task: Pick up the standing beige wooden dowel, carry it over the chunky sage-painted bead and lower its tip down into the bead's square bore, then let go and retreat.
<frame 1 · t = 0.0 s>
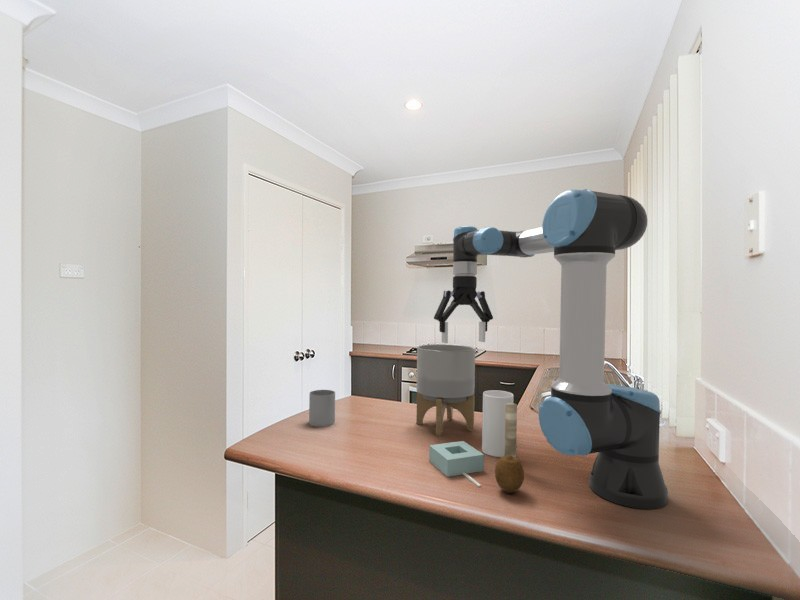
hand: (463, 342, 132), 28 cm above the countertop, fingers open, 13 cm apart
cup 2: (322, 423, 137), on the countertop
beige wooden dowel: (510, 468, 103), on the countertop
cup: (497, 451, 114), on the countertop
bead: (455, 465, 104), on the countertop
planter: (444, 427, 135), on the countertop
fruit: (508, 492, 91), on the countertop
cream stick: (471, 480, 96), on the countertop
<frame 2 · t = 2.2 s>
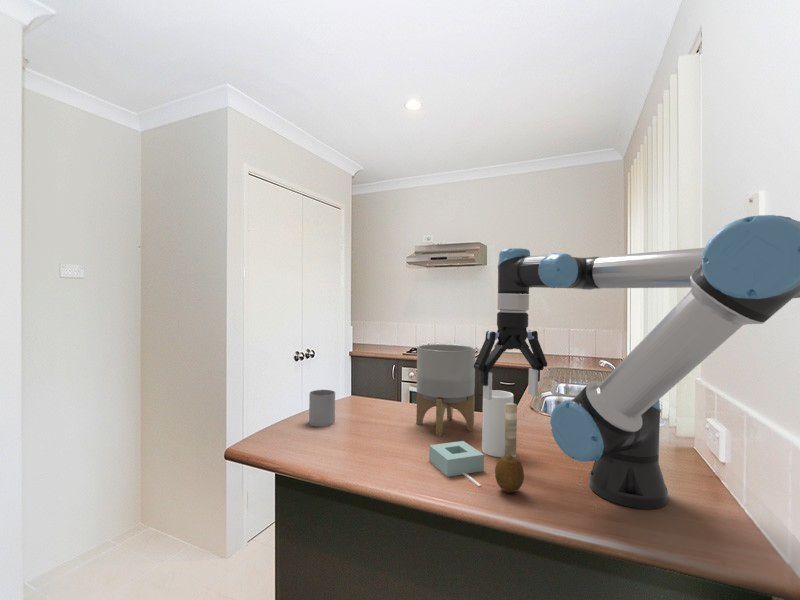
hand: (510, 396, 103), 18 cm above the countertop, fingers open, 13 cm apart
nothing on the countertop moved.
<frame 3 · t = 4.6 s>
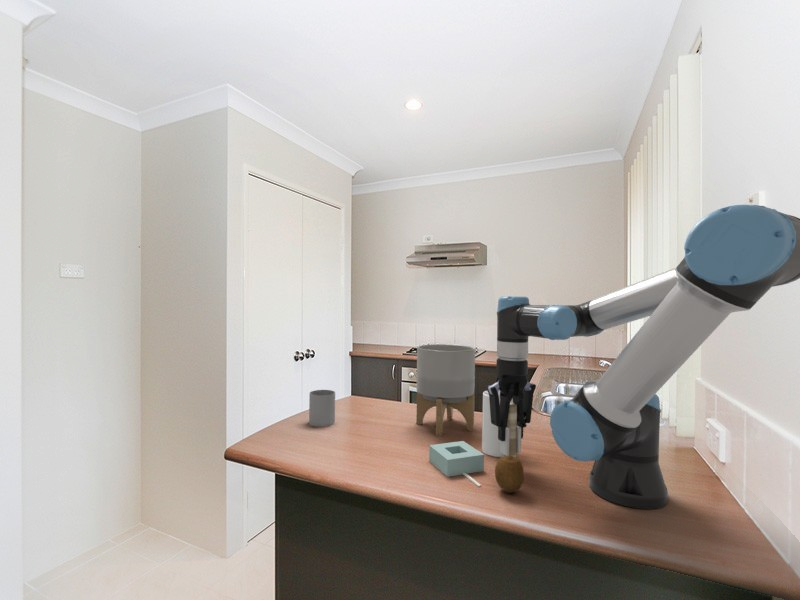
hand: (510, 452, 103), 4 cm above the countertop, fingers closed on beige wooden dowel, 3 cm apart
beige wooden dowel: (510, 468, 103), on the countertop, touching gripper
everything else where it was.
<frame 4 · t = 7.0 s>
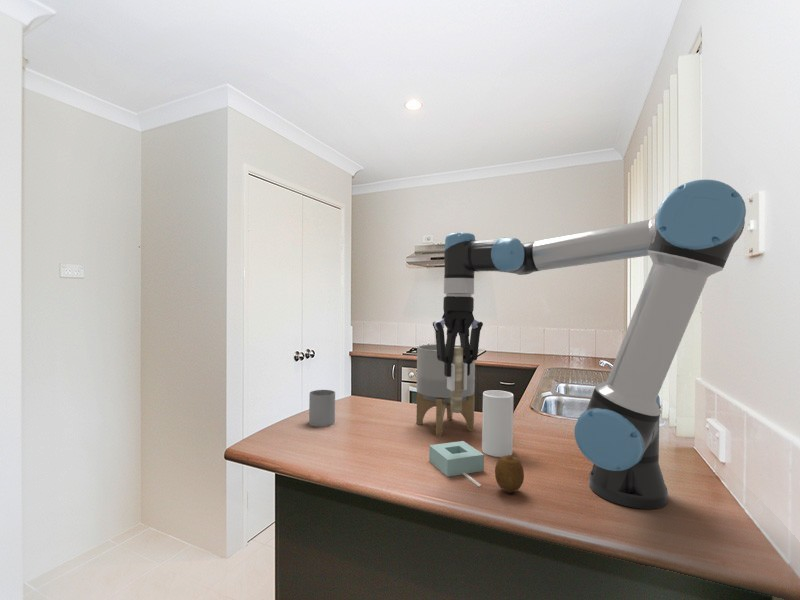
hand: (456, 388, 104), 19 cm above the countertop, fingers closed on beige wooden dowel, 3 cm apart
beige wooden dowel: (456, 411, 104), point 14 cm above the countertop, touching gripper
everything else where it was.
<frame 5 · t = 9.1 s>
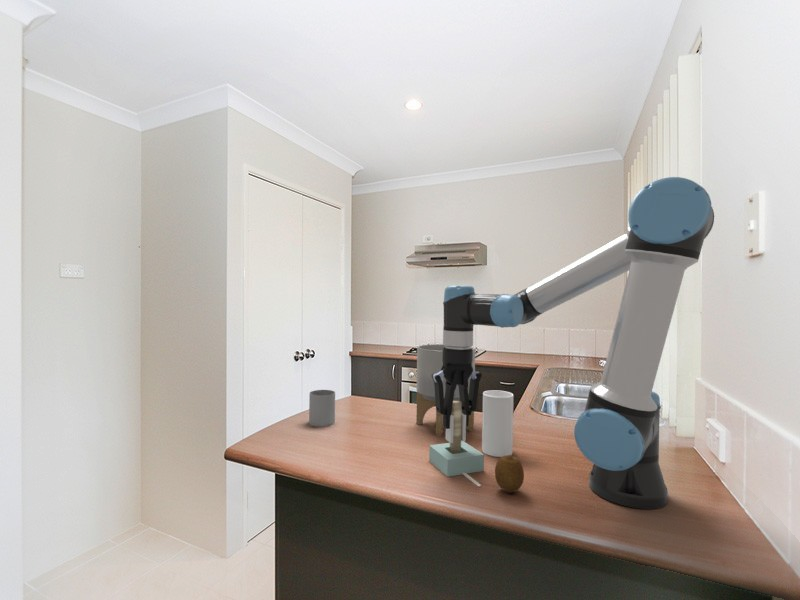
hand: (455, 439, 104), 6 cm above the countertop, fingers closed on beige wooden dowel, 3 cm apart
beige wooden dowel: (455, 465, 104), resting in bead, touching gripper
everything else where it was.
when the fingers open (6 cm above the countertop, at t = 9.9 s): beige wooden dowel stays where it is, resting in bead.
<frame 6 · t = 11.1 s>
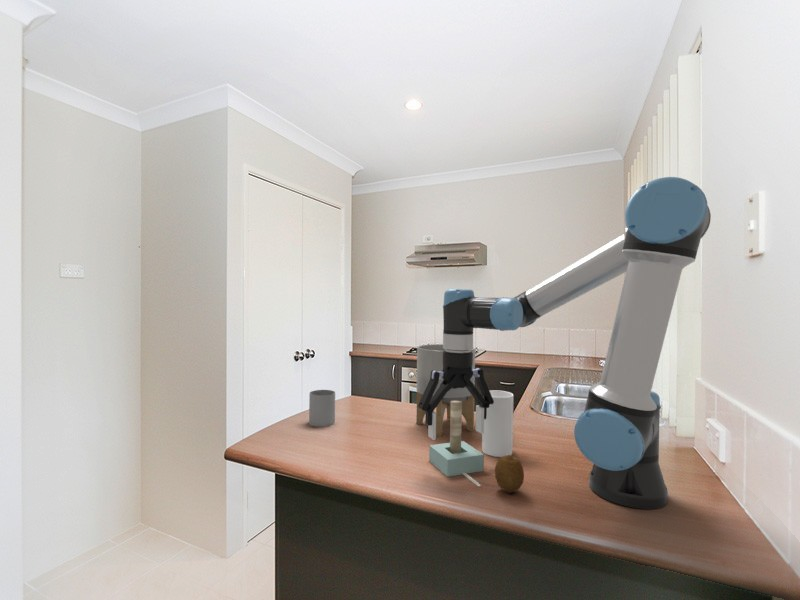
hand: (456, 435, 104), 8 cm above the countertop, fingers open, 13 cm apart
beige wooden dowel: (455, 465, 104), resting in bead
everything else where it was.
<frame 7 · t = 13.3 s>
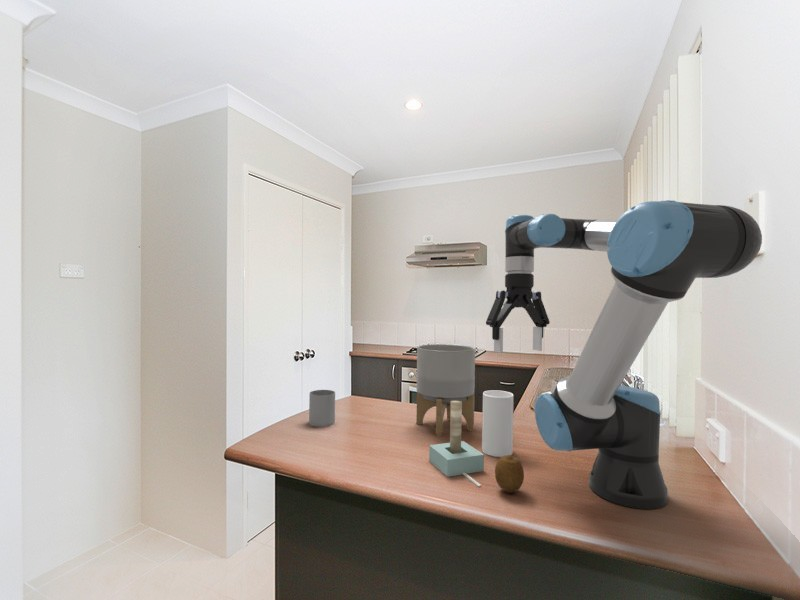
hand: (518, 351, 112), 28 cm above the countertop, fingers open, 13 cm apart
nothing on the countertop moved.
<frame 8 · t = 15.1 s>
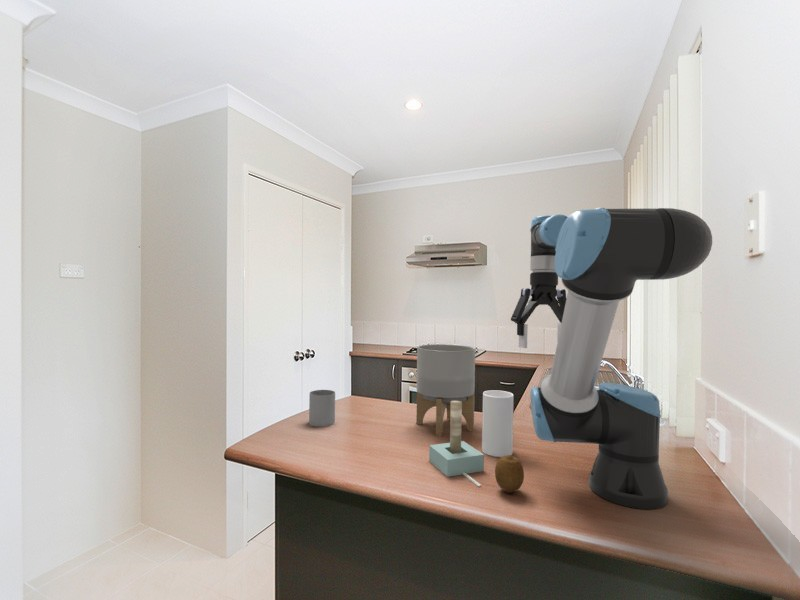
hand: (542, 346, 117), 29 cm above the countertop, fingers open, 13 cm apart
nothing on the countertop moved.
at the end: beige wooden dowel 0.2 cm off-centre on the bead, point 0.0 cm above the bead's base; beige wooden dowel tilted 0°; the gripper is holding nothing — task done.
